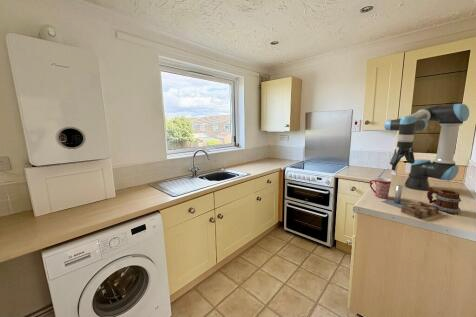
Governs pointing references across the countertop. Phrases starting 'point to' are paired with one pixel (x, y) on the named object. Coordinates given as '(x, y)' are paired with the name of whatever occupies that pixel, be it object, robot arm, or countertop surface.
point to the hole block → (419, 210)
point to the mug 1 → (381, 187)
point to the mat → (391, 202)
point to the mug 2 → (445, 200)
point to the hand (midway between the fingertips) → (400, 174)
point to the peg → (398, 194)
